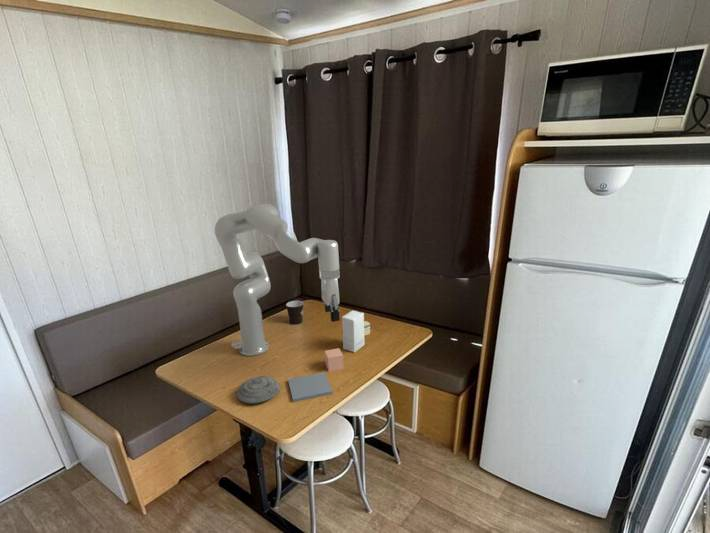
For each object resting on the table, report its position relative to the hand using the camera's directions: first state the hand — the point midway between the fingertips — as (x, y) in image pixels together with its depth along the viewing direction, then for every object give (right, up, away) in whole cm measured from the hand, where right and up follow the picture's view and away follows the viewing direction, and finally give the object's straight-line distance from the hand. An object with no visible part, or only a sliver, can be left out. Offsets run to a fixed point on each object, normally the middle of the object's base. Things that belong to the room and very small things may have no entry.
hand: (332, 316), depth 143 cm
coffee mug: (-21, -9, +49) cm, 54 cm away
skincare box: (+8, -17, +21) cm, 28 cm away
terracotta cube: (+1, -21, +6) cm, 22 cm away
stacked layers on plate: (+12, -13, +33) cm, 37 cm away
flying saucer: (-26, -27, -9) cm, 38 cm away
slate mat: (-8, -25, -7) cm, 27 cm away
